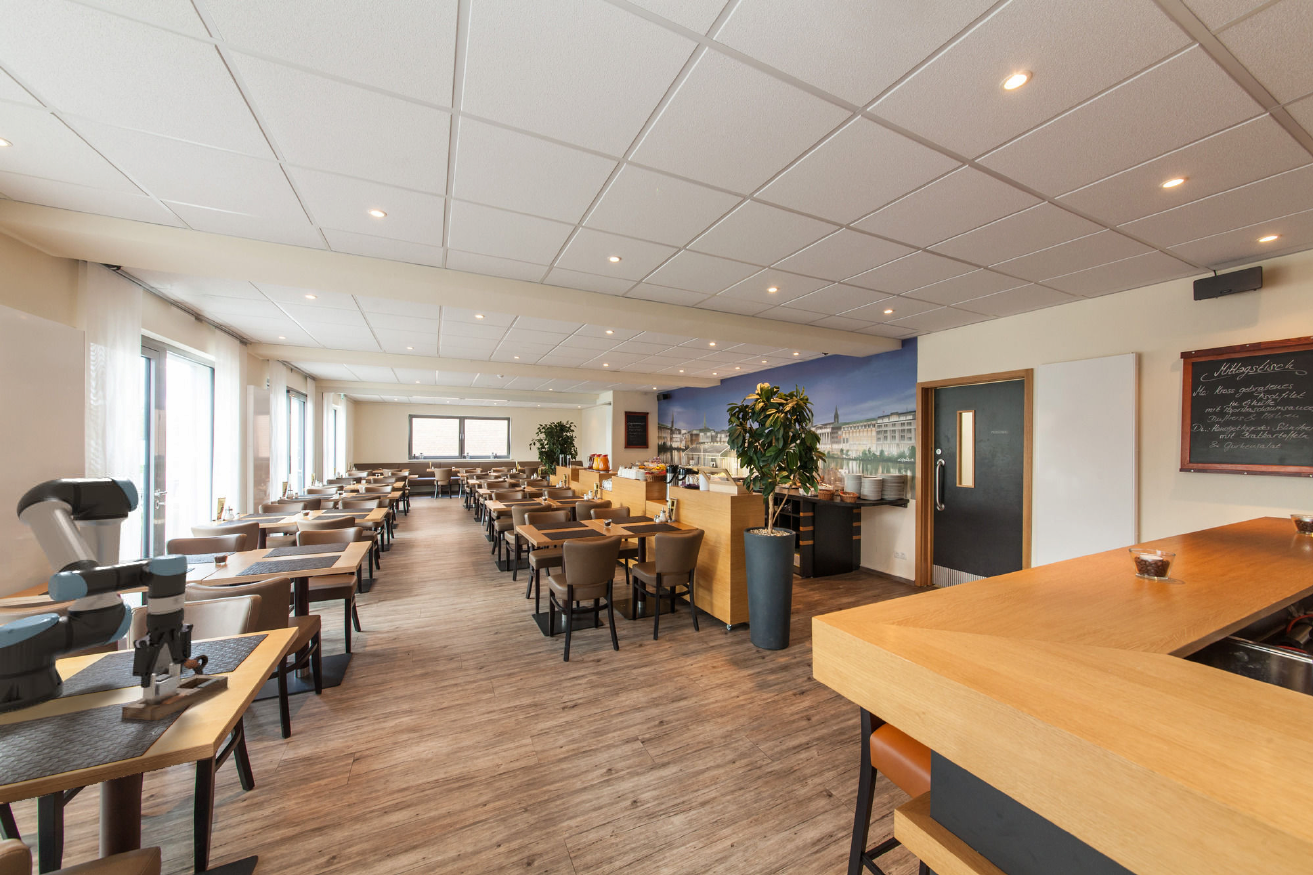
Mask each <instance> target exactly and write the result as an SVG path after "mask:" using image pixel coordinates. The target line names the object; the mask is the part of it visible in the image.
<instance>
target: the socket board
mask: <svg viewBox="0 0 1313 875" xmlns="http://www.w3.org/2000/svg"><path fill="white" fill-rule="evenodd" d="M193 675H194V674H193ZM193 675H191V676H192V677H191V676H190V677H187V678H185V679H183V680H180V683H179V687H177V696H175V697H173V698H170V699H168V700H166V701H164V702H162V704H160V705H147V704H145V698H143V697H142V698H140V699H137V700H135V701H133V702H129V703H128V704H126V705H124V706H122V707H121V712H122V713H121V719H130V720H131V719H132V720H133V719H135V720H149V721H159V720H161V719H163V718H166V717H168V716H170V715H171V714H173V713H176V712H178V711H180V710H182V709H184V708H186V707H188V706H191V705H192V704H195V703H197V702H198V701H200V700H203V699H205V698H206V697H210V695H212V694H215V693H217V692H219V691H221V690H223V689H225V688H226V687H227V688H228V686H229V685H228V683H229V681H228V680H229V677H228V676H227V675H226V676H225V675H223V676H222V675H209V674H208V675H207V674H203V675H194V676H193Z"/></svg>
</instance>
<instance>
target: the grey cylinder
mask: <svg viewBox="0 0 1313 875" xmlns="http://www.w3.org/2000/svg"><path fill="white" fill-rule="evenodd" d="M182 623H183V622H182ZM183 624H186V623H185V622H184V623H183ZM179 637H180V632H179ZM148 642H150V641H149V640H148ZM179 643H180V641H179ZM148 645H149V644H148ZM155 646H158V645H155ZM170 664H174V663H173V661H172V658H171V655H170V651H169V648H168V645H167V643H165V644H164V646H163V648H162V649H161V650H160V653H159V656H158V659H157V662H156V665H155V668H154V671H158V670H164V669H166V668H167V669H169V665H170Z"/></svg>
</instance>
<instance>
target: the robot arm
mask: <svg viewBox="0 0 1313 875" xmlns="http://www.w3.org/2000/svg"><path fill="white" fill-rule="evenodd" d="M137 489H138V488H136V486H135V483H134V482H133V481H131V480H130V479H128V478H126V477H115V476H114V477H111V476H108V477H106V476H105V477H82V478H81V477H80V478H76V477H75V478H55V479H51V480H47V481H44V482H41V483H38V484H36V485H35V486H33V487H31V488H29V490H27V491H26V493H24V494H22V496H21V498H20V499H19V501H18V502H17V504H16V505H17V506H16V514H17V517H18V519H19V521H20V522H21V525H22V524H23V525H24V526H25V527H29V528H30V529H31V532H32V533H33V535H34V537H35V539H36V541H37V542H38V545H39V546H40V548H41V550H42V551H43V553H44V555H45V558H46V559H47V561H48V562H49V565H50V566H51V568H52V570H53V572H54V574H52V575H51V576H50V578H49V581H47V582H48V584H47V591H48V595H49V598H50V599H51V601H52V600H53V601H55V602H65V601H71V600H75V602H74V603H72V604H71V605H70V606H68V607H67V612H66V615H62V616H60V615H59V614H58V613H55V612H54V613H53V612H52V613H43V614H40V615H39V614H38V615H37V614H36V615H31V616H27V617H24V618H20V619H17V620H14V621H11V622H8V623H5V624H4V625H1V626H0V714H2V713H3V714H4V713H8V712H14V711H18V710H22V709H26V708H29V707H33V706H35V705H38V704H41V703H44V702H47V701H50V700H51V699H54V698H56V697H58V696H59V695H61V694H62V693H63V692H64V686H65V685H64V680H63V679H62V677H61V675H60V673H59V671H58V669H57V667H56V664H57V663H56V662H57V657H60V656H65V655H67V654H72V653H77V652H81V651H84V650H88V649H92V648H95V647H103V646H105V645H108V644H110V643H115V642H117V641H119V640H122V639H123V638H124V637H125V636H126V635H127V633H128V632H129V630H130V627H131V625H132V622H133V612H132V611H133V609H132V607H131V605H130V604H128V603H124V599H123V598H122V597H119V596H118V592H122V591H127V590H132V589H137V588H143V587H147V603H146V605H147V606H146V612H147V614H146V619H145V621H146V622H145V623H146V624H145V626H146V628H147V631H146V633H145V636H143V637H142V638H140V639H135V640H133V641H132V644H133V647H134V653H133V664H132V673H131V674H132V676H133V677H141V680H140V687H141V689H143V691H142V698H146V699H152V698H155V683H156V677H157V673H154V671H155V670H154V668H155V665H156V662H157V659H158V656H159V653H160V650H161V649H162V648H163V646H164V644H165V643H167V645H168V648H169V651H170V655H171V658H172V661H173V663H174V664H170V665H169V668H168V669H169V675H177V687H179V683H180V681H181V678H180V677H181V674H182V673H183V667H184V666H183V663H185V662H186V661H187V660H186V659H187V658H189V659H191V657H192V632H193V629H194V624H193V623H185V624H183V621H184V620H185V608H184V607H185V606H186V604H185V603H186V587H187V574H188V573H187V571H188V559H187V556H186V555H185V554H181V553H179V554H164V555H163V554H162V555H159V556H155V557H153V558H152V557H150V558H149V557H148V558H139V559H138V558H137V559H136V560H133V561H131V562H125V563H120V562H119V561H120V550H121V549H120V548H121V544H120V543H121V531H122V530H121V529H122V527H121V526H122V523H123V522H124V521H125V520H127V519H129V513H131V512H133V511H134V512H135V511H136V509H137V508H138V506H139V503H140V502H139V493H138V490H137ZM77 525H78V526H79V528H78V526H77ZM179 632H180V637H179ZM148 640H149V641H150V642H148ZM179 641H180V643H179ZM148 644H149V645H148ZM155 645H158V646H155Z"/></svg>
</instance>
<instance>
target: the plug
mask: <svg viewBox="0 0 1313 875" xmlns="http://www.w3.org/2000/svg"><path fill="white" fill-rule="evenodd" d="M175 696H177V675H166V674H162V675H158V676H156V683H155V698H152V699H146V698H145V704H147V705H160V704H162V702H164V701H166V700H168V699H170V698H173V697H175Z"/></svg>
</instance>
